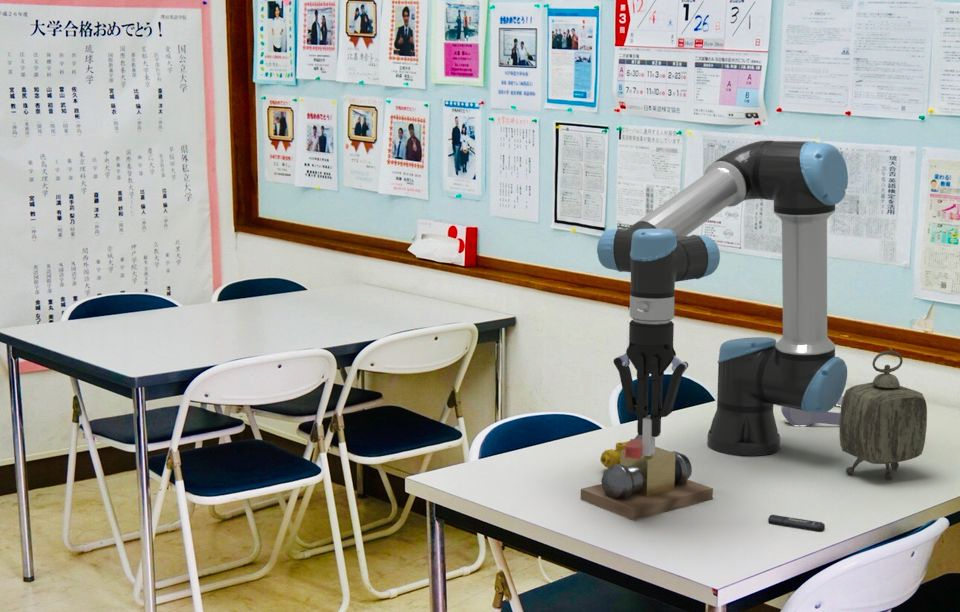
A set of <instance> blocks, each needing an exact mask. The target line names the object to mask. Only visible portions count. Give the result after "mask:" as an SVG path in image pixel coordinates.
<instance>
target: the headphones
mask: <svg viewBox="0 0 960 612" xmlns="http://www.w3.org/2000/svg"><path fill="white" fill-rule="evenodd" d="M843 396H844V395H842V396H841V397H840V399H839V401H838V403H837V404H838V405H842V400H843ZM780 410H781V414H782V416H783V417H784V419H785V420H786V421H787V422H788V423H789V424H790V425H791V426H793V425H806V427H809V426H810V425H813V424H824V425H833V426H836V425H837V426H839V421H840V412H836V411H835V412H834V411H828V412H825V413H816V412H804V411H802V410H798V409H793V408H789V407H784V406H780Z"/></svg>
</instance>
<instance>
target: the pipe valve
mask: <svg viewBox="0 0 960 612" xmlns="http://www.w3.org/2000/svg"><path fill="white" fill-rule="evenodd" d="M692 469H693V468H692V463H691V460H690V459H689V458H688V457H687V456H686V455H685V454H683V453H681V452H678V451H675V450H674V451H670V450H667V449H664V448H661V447H657V446H655V453H653V454H652V455H651V456H644V455H642V457H641V458H640V459H633V458H625V450H621V463H620V464H617V465H613V466H610V467H609V468H607V469H606V471H605V472H603V474H602V475H601V476H602V477H601V484H602V487H603V490H604V492H605V494H606V495H607V496H608V497H610V498H618V497H619V498H622V499H628V498H630V497H631V495H632V494H633V493H637V494H639V495H642V496H645V497H650V496H653V495H657V494H661V493H665V492H669V491H672V490H674V483H675V484H678V485H681V484H684V483H686V481H687V480H689V479H690V478H691V476H692V472H693V470H692Z"/></svg>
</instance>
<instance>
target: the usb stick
mask: <svg viewBox="0 0 960 612" xmlns="http://www.w3.org/2000/svg"><path fill="white" fill-rule="evenodd" d="M767 522H768V524H769V525H775V526H782V527H786V528H793V529H799V530H804V531H805V530H806V531H813V532H816V533H817V532H820V533H821V532H824V530H825V527H826V525H825V523H823V522H821V521H817V520H811V519H810V520H809V519H802V518H797V517H789V516H784V515H778V514H771V515H770V516H769V517H768V518H767Z"/></svg>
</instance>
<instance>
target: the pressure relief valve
mask: <svg viewBox="0 0 960 612" xmlns="http://www.w3.org/2000/svg"><path fill="white" fill-rule="evenodd" d="M629 441H630V440H627V441H623V442H621V441H619V442H616V443H615V449H612V448H611V449H606V450H604V451H603V452H602V453H601V455H600V463H601V465H602V466H604V467H605V468H607V469H608V468H609V467H610V466H613V465H617V464H620V463H621V450H625V446H626V445H627V443H628V442H629Z"/></svg>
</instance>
